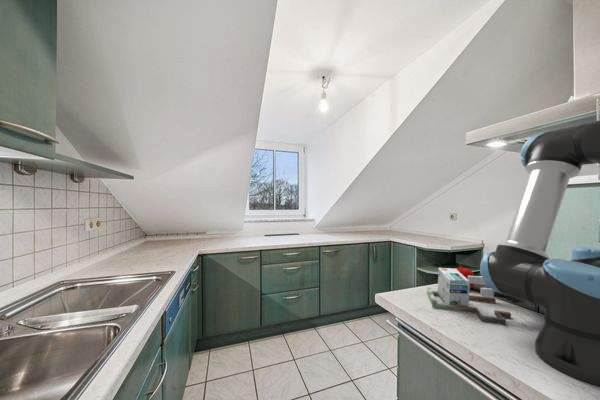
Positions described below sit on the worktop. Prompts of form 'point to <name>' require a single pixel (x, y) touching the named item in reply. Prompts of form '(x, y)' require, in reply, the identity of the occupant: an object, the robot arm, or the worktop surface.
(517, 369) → the worktop surface
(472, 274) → the fruit
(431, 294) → the trap lane
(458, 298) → the light bulb box
